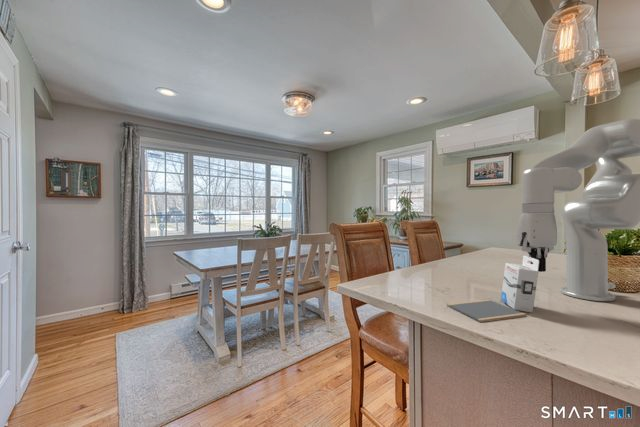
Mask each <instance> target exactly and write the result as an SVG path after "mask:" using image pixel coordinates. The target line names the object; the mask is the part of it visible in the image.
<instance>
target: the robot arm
mask: <svg viewBox="0 0 640 427" xmlns="http://www.w3.org/2000/svg"><path fill="white" fill-rule="evenodd" d="M632 157H633V158H634V157H640V118H626V119H621V120H618V121H617V120H616V121H612V122H608V123H604V124H599V125H596V126H593V127H591V128H589V129H588V130H586V131H584V132H583V133H582V134H581V135H580V136H578V138H577V139H576V140H575V141H574V142H572V143H571V145H569V146H568V147H567V148H565V149H563V150H561V151H558V152H556V153H555V154H553V155H551V156H549V157H546V158H545V159H543V160H540V161H538V162H537V163H535V164H534V165H533V166H532V167H531V168H528V169H525V170H523V172H522V173H521V213H520V215H519V219H518V224H517V232H516V233H517V235H516V241H517V242H516V243H517V245H518V246H519V247H521V251H522V252H524V253H525V252H526V253H527V254H528V257H531V258H534V259H537V260H539V268H538V273H540V272H543V273H544V272H547V266H546V265H547V264H546V263H547V262H546V261H547V260H546V258H548V253H549V252H552V251H554V249H555V246H557V243H558V227H557V221H556V216H555V215H556V214H555V194H559V193H561V194H562V193H569V192H572V191H575V190H576V189H578V188H579V187H580V186H581V184H582V181H583V177H582V174H581V172H580V171H582V170H584V169H587V168H589V167H592V166H593V165H594V164H595V167H596V171H595V173H594V174H593V176H592V177H591V178H590V180H589V181H588V182H587V184H586V185H585V186H584V189H583V190H582V194H581V197H582V198H577V199H573V200H569V201H567V202H566V203H565V204H564V205H563V207H562V211H561V215H562V220H563V224H564V229H565V240H566V252H565V254H566V259H565V260H566V286H563V287H560V293H562V294H563V295H566V296H568V297H572V298H577V299H580V300H586V301H595V302H613V301H615V300H616V295H614V294H613V293H612V292H609V290H610V289H611V290H612V289H615V288H616V284H615V283H614V282H608V278H609V273H608V272H609V270H608V268H609V267H608V265H609V264H608V263H609V261H608V257H609V256H608V249H609V248H608V241H607V239H606V237H605V235H603V233H601V232H600V229H603V230H630V229H633V228H635V227H637V226H638V225H639V224H640V173H633V171H632V169H631V168H630V167H629V165H627V164H625V163H624V162H623V161H620V160H619V159H627V158H632ZM530 264H533V262H531V261H530Z"/></svg>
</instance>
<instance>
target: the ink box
mask: <svg viewBox="0 0 640 427" xmlns="http://www.w3.org/2000/svg"><path fill="white" fill-rule="evenodd" d="M531 262H533V264H531ZM538 268H539V260H537V259H534V258H531V257H529V255H523V256H522V264H517V263H511V262H510V263H509V262H505V266H504V272H503V273H504V274H503V280H502V288H501V296H500V300H501V301H502V302H503V303H505V305H507V306H508V307H509V308H512V309H514V310H517V311H519V312H527V313H533V312H534V306H535V299H536V292H537V285H538V277H539V271H538Z"/></svg>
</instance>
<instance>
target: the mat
mask: <svg viewBox="0 0 640 427" xmlns="http://www.w3.org/2000/svg"><path fill="white" fill-rule="evenodd" d="M446 307H448V308H450V309H453V311H454V310H455V312H456V311H457V312H458V313H460V314H462V315H465V316H466V317H468V318H470V319H472V320H474V321H476V322H479V323H484V322H491V321H492V322H493V321H499V320H500V321H501V320H507V319H514V318H515V319H516V318H523V317H527V313H524V312H523V311H520V310H514V309H513V308H512V307H510V306H506V305H504V304H501V303H498V302H495V301H493V300H491V299H483V300H475V301H463V302H457V303H456V302H455V303H447V304H446Z"/></svg>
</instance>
